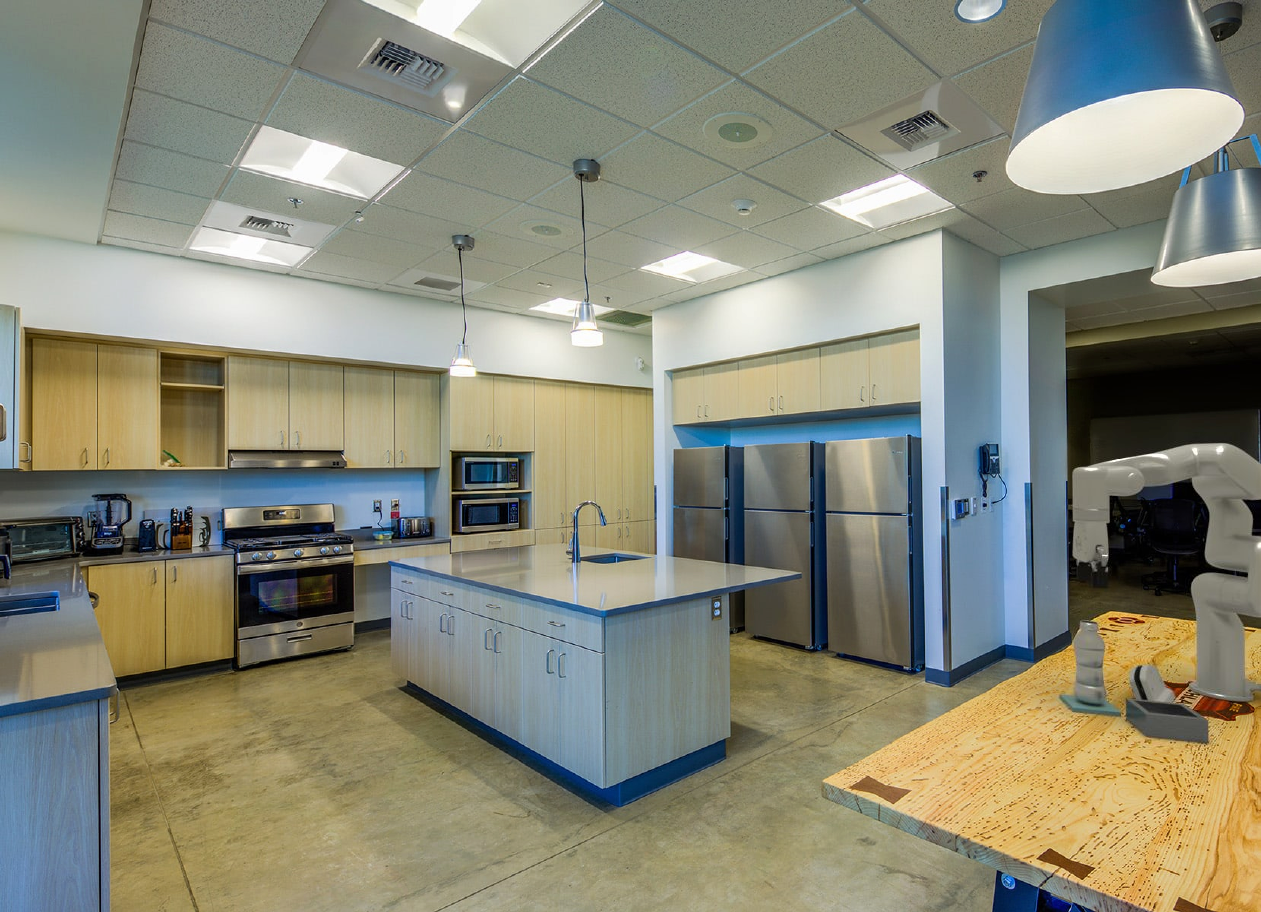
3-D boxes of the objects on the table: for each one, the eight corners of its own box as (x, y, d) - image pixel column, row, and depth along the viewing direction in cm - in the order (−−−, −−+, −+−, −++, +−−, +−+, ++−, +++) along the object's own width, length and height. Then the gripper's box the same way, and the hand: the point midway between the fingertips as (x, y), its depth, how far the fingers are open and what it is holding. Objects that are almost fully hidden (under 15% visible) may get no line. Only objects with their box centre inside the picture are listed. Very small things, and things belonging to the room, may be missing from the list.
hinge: (1164, 713, 159) (1146, 671, 162) (1141, 715, 162) (1124, 673, 165) (1176, 697, 171) (1159, 658, 173) (1154, 699, 174) (1138, 660, 176)
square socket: (1183, 725, 152) (1183, 703, 152) (1208, 743, 142) (1208, 720, 142) (1125, 719, 155) (1125, 698, 155) (1146, 736, 145) (1145, 714, 145)
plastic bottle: (1107, 709, 159) (1107, 626, 159) (1073, 704, 162) (1073, 623, 163) (1105, 701, 164) (1105, 621, 165) (1072, 696, 168) (1072, 618, 168)
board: (1104, 702, 167) (1104, 698, 167) (1121, 716, 157) (1121, 712, 157) (1059, 698, 170) (1059, 694, 170) (1073, 711, 160) (1073, 707, 160)
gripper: (1062, 513, 174) (1062, 578, 174) (1086, 518, 157) (1087, 590, 157) (1095, 513, 172) (1095, 579, 172) (1123, 519, 155) (1124, 591, 155)
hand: (1091, 584), depth 164 cm, fingers open, 9 cm apart
